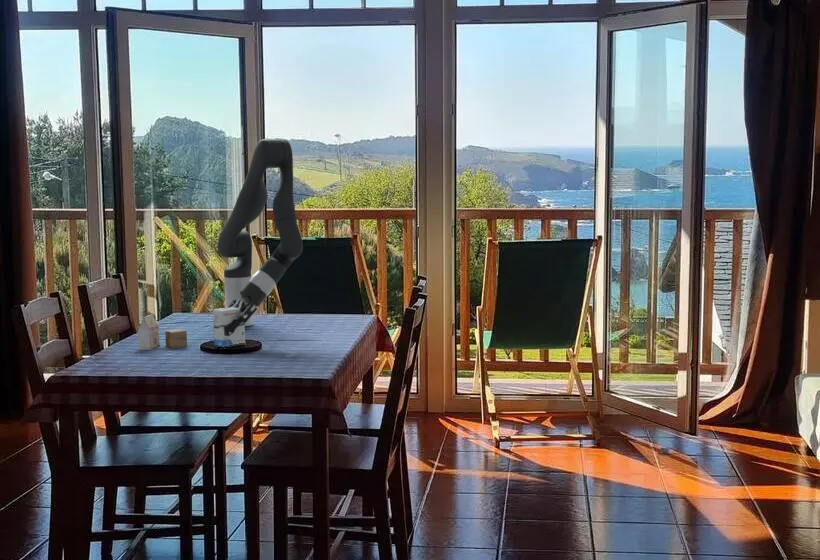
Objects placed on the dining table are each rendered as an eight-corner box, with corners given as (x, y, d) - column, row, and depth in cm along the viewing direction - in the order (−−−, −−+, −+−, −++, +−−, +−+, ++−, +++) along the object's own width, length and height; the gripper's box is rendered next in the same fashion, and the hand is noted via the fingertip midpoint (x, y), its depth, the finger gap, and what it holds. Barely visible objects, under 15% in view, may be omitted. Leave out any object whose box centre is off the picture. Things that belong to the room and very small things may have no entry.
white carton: (138, 349, 294) (137, 317, 293) (148, 345, 300) (147, 314, 299) (150, 349, 293) (148, 317, 292) (159, 345, 300) (158, 314, 299)
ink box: (222, 349, 292) (220, 310, 291) (213, 347, 296) (212, 309, 295) (246, 345, 298) (244, 307, 296) (237, 343, 301) (236, 306, 300)
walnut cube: (165, 346, 299) (165, 330, 299) (181, 344, 302) (180, 328, 301) (171, 348, 295) (170, 332, 294) (187, 346, 298) (186, 330, 297)
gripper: (240, 278, 305) (206, 319, 299) (260, 282, 293) (225, 324, 288) (256, 294, 308) (223, 334, 303) (276, 298, 296) (242, 340, 291)
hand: (224, 329), depth 295 cm, fingers open, 6 cm apart
